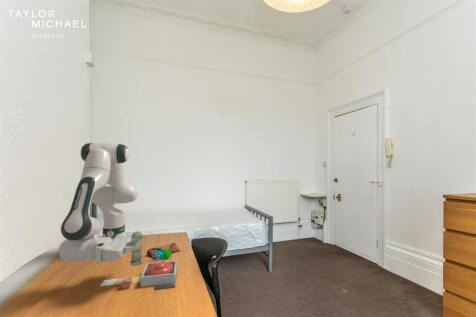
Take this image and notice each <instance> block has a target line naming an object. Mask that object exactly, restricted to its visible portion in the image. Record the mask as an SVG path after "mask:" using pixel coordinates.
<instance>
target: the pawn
mask: <svg viewBox="0 0 476 317" xmlns="http://www.w3.org/2000/svg"><path fill="white" fill-rule="evenodd" d="M130 236H131V239H132V246H134V245H138V249H137V250H136V251H131V259H130V267H131V266H132V267H137V266H140V265H141V264H143V258H142V253H143V252H142V251H143V250H142V246H143V236H144V235H143V233H142V232H141V231H135V232H133V233H132V234H131V235H130Z"/></svg>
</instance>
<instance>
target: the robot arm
mask: <svg viewBox="0 0 476 317" xmlns="http://www.w3.org/2000/svg"><path fill="white" fill-rule="evenodd" d="M129 155H130V154H129V150H128V147H127V146H126V145H125V144H121V143H119V144H118V143H112V142H110V143H109V142H96V143H95V142H94V143H93V142H89V143H85V144H84V145H83V146H81V149H80V157H81V159H82V161H83V162H84V164H83V168H82V172H81V176H80V180H79V181H78V184H77V187H76V190H75V193H74V196H73V200H72V203H71V205H70V209H69V211H68V214H67V215H66V216H65V218H64V220H63V222H62V223H61V226H60V232H61V235H62V237H63V238H64V239H65V240H63V241H62V242H61V243H60V244H59V247H58V255H59V257H60V259H61V260H62V261H65V262H85V261H88V260H89V261H90V260H92V261H95V264H102V263H103V262H106V263H107V262H114V261H119V260H121V259H122V258H123V256H124V255H125V254H126V253H127V254H128V253H132V251H136V250H137V249H138V245H134V246H132V239H131V236H132V235H129V236H128V233H127V232H126V223H125V213H124V211H122V209H119V208H116V207H115V204H128V203H131V202H132V203H133V202H135V200H136V199H137V197H138V190H137V188H136V187H135V186H133V185H132V184H130V183H129V182H127V180H126V178H125V177H124V169H123V168H124V167H123V164H124V163H126V162H127V161H128V158H129ZM91 204H94V205H95V206H97V207H98V208H99V209H100V211H101V213H102V218H103V227H102V222H101V221H100V219H98V218H96V217H93V216H90V207H91ZM101 229H102V230H101ZM101 231H102V232H101ZM101 233H102V235H100V234H101ZM99 236H100V237H99Z"/></svg>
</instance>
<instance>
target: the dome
mask: <svg viewBox="0 0 476 317" xmlns="http://www.w3.org/2000/svg"><path fill="white" fill-rule="evenodd" d="M154 263H155V264H152V265H150V266H149V267H148V268H147V276H152V275H162V274H172V273H173V264H172V263H169V262H168V261H159V263H157V262H154Z"/></svg>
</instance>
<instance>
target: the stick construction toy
mask: <svg viewBox="0 0 476 317" xmlns="http://www.w3.org/2000/svg"><path fill="white" fill-rule="evenodd" d="M160 247H161V246H160ZM155 248H156V249H155V250H154V251H156V252H157V254H158V255H152V256H156V257H154V258H153V259H152V260H153V261H154V260H157V261H159V260H160V259H161V260H162V262H165V260H166V259H170V258H171V257H172V254H171V252H170V251H169V250H166V251H164V250H163V251H162V247H161V250H160V252H158V251H157V247H155ZM155 258H156V259H155Z"/></svg>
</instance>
